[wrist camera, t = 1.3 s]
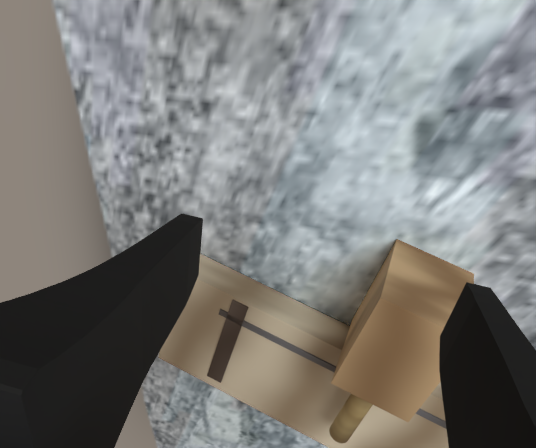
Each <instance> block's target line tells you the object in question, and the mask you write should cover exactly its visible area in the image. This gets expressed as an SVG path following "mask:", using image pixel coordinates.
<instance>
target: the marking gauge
mask: <svg viewBox="0 0 536 448" xmlns="http://www.w3.org/2000/svg"><path fill="white" fill-rule="evenodd" d="M466 282H468V283H472V284H474V274H473V273H471V272H469V271H466V270H464V269H462V268H460V267H458V266H455V265H453V264H451V263H449V262H447V261H444V260H442V259H440V258H438V257H435V256H433V255H431V254H429V253H427V252H424V251H422V250H420V249H418V248H416V247H413V246H411V245H409V244H407V243H404V242H402V241H400V240H398V239H397V240H396V241H395V243H394V245H393V247H392V249H391V250H390V252H389V254H388V256H387V258H386V259H385V261H384V263H383V265H382V267H381V269H380V270H379V272H378V274H377V276H376V278H375V279H374V281H373V283H372V285H371V287H370V288H369V290H368V292H367V294H366V296H365V297H364V299H363V301H362V303H361V305H360V306H359V308H358V310H357V312H356V314H355V315H354V317H353V319H352V322H351V325H350V328H349V331H348V334H347V337H346V340H345V343H344V346H343V349H342V352H341V355H340V358H339V361H338V364H337V367H336V370H335V372H334V375H333V378H332V381H331V384H333V385H335V386H337V387H339V388H341V389H343V390H345V391H347V392H349V393H351V394H350V396H349V398H348V399H347V401H346V402H345V404H344V406H343V407H342V409H341V410H340V412H339V413H338V415H337V417H336V418H335V420H334V421H333V423H332V425H331V426H330V428H329V433H330V436H331V437H332V438H333V440H335V441H336V442H338V443H346V442H347V441H348V440H349V439H350V437H351V436H352V434H353V433H354V431H355V430H356V428H357V427H358V426H359V424H360V423H361V421H362V420H363V418H364V417H365V415H366V414H367V413H368V411H369V410H370V408H371V407H372V405H375V406H377V407H379V408H380V409H382V410H384V411H386V412H388V413H390V414H392V415H394V416H396V417H398V418H400V419H402V420H404V421H406V422H409V421H410V420H411V418H412V417H413V416H414V415H415V413H416V412H417V411H418V410H419V408H420V407H421V406H422V405H423V403H424V402H425V401H426V400H427V398H428V397H429V396H430V394H431V393H432V392H433V391H434V389H435V388H436V387H437V386H438V384H439V383H440V382H441V381H440V372H439V352H440V335H441V333H442V331H443V329H444V327H445V325H446V323H447V321H448V319H449V317H450V315H451V313H452V311H453V309H454V307H455V305H456V302H457V300H458V298H459V296H460V294H461V292H462V290H463V288H464V286H465V284H466Z"/></svg>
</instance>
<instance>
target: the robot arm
mask: <svg viewBox="0 0 536 448" xmlns="http://www.w3.org/2000/svg"><path fill="white" fill-rule="evenodd" d="M202 222H203V219H202V218H198V217H194V216H190V215H186V214H180V215H179V216H177V217H176V218H174V219H172V220H171V221H169V222H168V223H167V224H165V225H164V226H162V227H161V228H159V229H158V230H156V231H155V232H153V233H152V234H150V235H149V236H147V237H146V238H144V239H142V240H141V241H139V242H138V243H136V244H135V245H133V246H131V247H130V248H128V249H127V250H125V251H123V252H122V253H120V254H118V255H116V256H114V257H113V258H111V259H109V260H107V261H106V262H104V263H102V264H100V265H98V266H96V267H94V268H92V269H90V270H88V271H86V272H84V273H82V274H79V275H77V276H75V277H73V278H70V279H68V280H66V281H63V282H61V283H58V284H56V285H53V286H50V287H47V288H44V289H42V290H39V291H37V292H34V293H31V294H28V295H25V296H22V297H18V298H15V299H12V300H9V301H5V302H2V303H0V448H114V447H115V444H116V442H117V440H118V437H119V435H120V433H121V430H122V428H123V426H124V423H125V421H126V419H127V416H128V414H129V411H130V409H131V407H132V405H133V403H134V400H135V398H136V396H137V394H138V391H139V389H140V387H141V385H142V382H143V380H144V378H145V377H146V375H147V373H148V371H149V369H150V367H151V365H152V364H153V362H154V360H155V358H156V357H157V355H158V353H159V351H160V350H161V348H162V346H163V345H164V343H165V341H166V339H167V338H168V336H169V334H170V332H171V331H172V329H173V327H174V326H175V324H176V322H177V320H178V319H179V317H180V315H181V313H182V311H183V310H184V308H185V306H186V304H187V302H188V300H189V297H190V295H191V292H192V290H193V288H194V285H195V283H196V280H197V278H198V275H199V263H200V250H201V236H202ZM439 372H440V381H441V389H442V398H443V406H444V413H445V421H446V429H447V437H448V445H449V448H536V350H535V349H534V347H533V346H532V345H531V343H530V342H529V341H528V339H527V338H526V337H525V335H524V334H523V333H522V331H521V330H520V328H519V327H518V326H517V324H516V323H515V321H514V320H513V319H512V317H511V316H510V314H509V313H508V312H507V310H506V309H505V307H504V306H503V305H502V303H501V302H500V300H499V299H498V298H497V296H496V295H495V293H494V292H493V291H492V290H491V288H488V287H484V286H480V285H476V284H472V283H468V282H466V284H465V286H464V288H463V290H462V292H461V294H460V296H459V298H458V300H457V302H456V305H455V307H454V309H453V311H452V313H451V315H450V317H449V319H448V321H447V323H446V325H445V327H444V329H443V331H442V333H441V335H440V352H439Z"/></svg>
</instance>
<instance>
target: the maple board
mask: <svg viewBox="0 0 536 448" xmlns="http://www.w3.org/2000/svg"><path fill="white" fill-rule="evenodd" d="M349 328H350V326H348V325H346V324H344V323H342V322H340V321H338V320H336V319H333V318H331V317H329V316H327V315H325V314H323V313H321V312H319V311H317V310H315V309H313V308H311V307H309V306H307V305H305V304H303V303H301V302H298V301H296V300H294V299H292V298H290V297H288V296H286V295H284V294H282V293H280V292H278V291H276V290H274V289H272V288H270V287H268V286H266V285H264V284H261V283H259V282H257V281H255V280H253V279H251V278H249V277H247V276H245V275H243V274H241V273H239V272H237V271H235V270H233V269H231V268H229V267H227V266H224V265H222V264H220V263H218V262H216V261H214V260H212V259H210V258H208V257H206V256H204V255H202V254H200V263H199V275H198V278H197V280H196V283H195V285H194V288H193V290H192V292H191V295H190V297H189V300H188V302H187V304H186V306H185V308H184V310H183V311H182V313H181V315H180V317H179V319H178V320H177V322H176V324H175V326H174V327H173V329H172V331H171V332H170V334H169V336H168V338H167V339H166V341H165V343H164V345H163V346H162V348H161V350H160V353H159V357H158V358H160V359H162V360H164V361H166V362H168V363H170V364H172V365H174V366H175V367H177V368H179V369H181V370H183V371H185V372H187V373H189V374H191V375H193V376H194V377H196V378H198V379H200V380H202V381H204V382H206V383H208V384H210V385H211V386H213V387H215V388H217V389H219V390H221V391H223V392H225V393H227V394H229V395H230V396H232V397H234V398H236V399H238V400H240V401H242V402H244V403H246V404H247V405H249V406H251V407H253V408H255V409H257V410H259V411H261V412H263V413H265V414H266V415H268V416H270V417H272V418H274V419H276V420H278V421H280V422H282V423H283V424H285V425H287V426H289V427H291V428H293V429H295V430H297V431H299V432H301V433H302V434H304V435H306V436H308V437H310V438H312V439H314V440H316V441H318V442H319V443H321V444H323V445H325V446H327V447H329V448H449V445H448V437H447V429H446V421H445V413H444V406H443V398H442V389H441V382H440V383H439V384H438V386H437V387H436V388H435V389H434V391H433V392H432V393H431V394H430V396H429V397H428V398H427V400H426V401H425V402H424V403H423V405H422V406H421V407H420V408H419V410H418V411H417V412H416V413H415V415H414V416H413V417H412V418H411V420H410V421H409V422H406V421H404V420H402V419H400V418H398V417H396V416H394V415H392V414H390V413H388V412H386V411H384V410H382V409H380V408H379V407H377V406H375V405H372V407H371V408H370V410H369V411H368V413H367V414H366V415H365V417H364V418H363V420H362V421H361V423H360V424H359V426H358V427H357V428H356V430H355V431H354V433H353V434H352V436H351V437H350V439H349V440H348V441H347V442H346V443H338V442H336V441H335V440H333V438H332V437H331V436H330V433H329V428H330V426H331V425H332V423H333V421H334V420H335V418H336V417H337V415H338V413H339V412H340V410H341V409H342V407H343V406H344V404H345V402H346V401H347V399H348V398H349V396H350V394H351V393H349V392H347V391H345V390H343V389H341V388H339V387H337V386H335V385H333V384H331V381H332V378H333V375H334V372H335V370H336V367H337V364H338V361H339V358H340V355H341V352H342V349H343V346H344V343H345V340H346V337H347V334H348V331H349Z"/></svg>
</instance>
